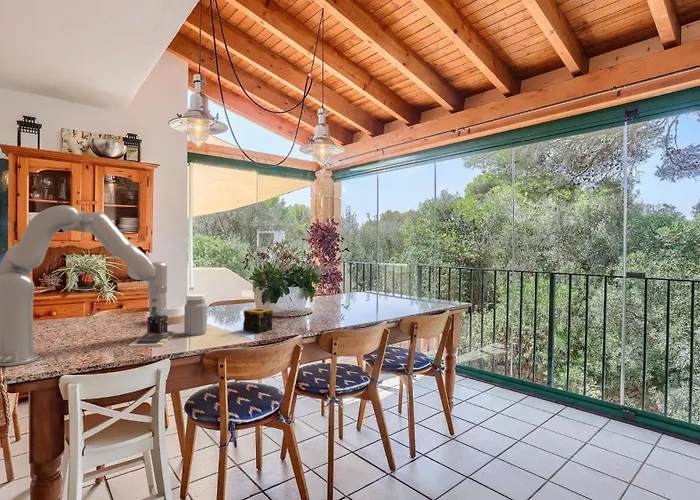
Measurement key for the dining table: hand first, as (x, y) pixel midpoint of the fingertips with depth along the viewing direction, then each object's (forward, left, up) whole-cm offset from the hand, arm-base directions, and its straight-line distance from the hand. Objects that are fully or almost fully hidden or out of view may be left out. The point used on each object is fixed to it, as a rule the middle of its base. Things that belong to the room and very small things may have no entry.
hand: (157, 329), depth 185 cm
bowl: (+35, +5, -4) cm, 35 cm away
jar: (+6, -15, -4) cm, 17 cm away
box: (0, 0, -2) cm, 2 cm away
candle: (+10, -43, -4) cm, 44 cm away
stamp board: (-5, 0, -3) cm, 6 cm away
